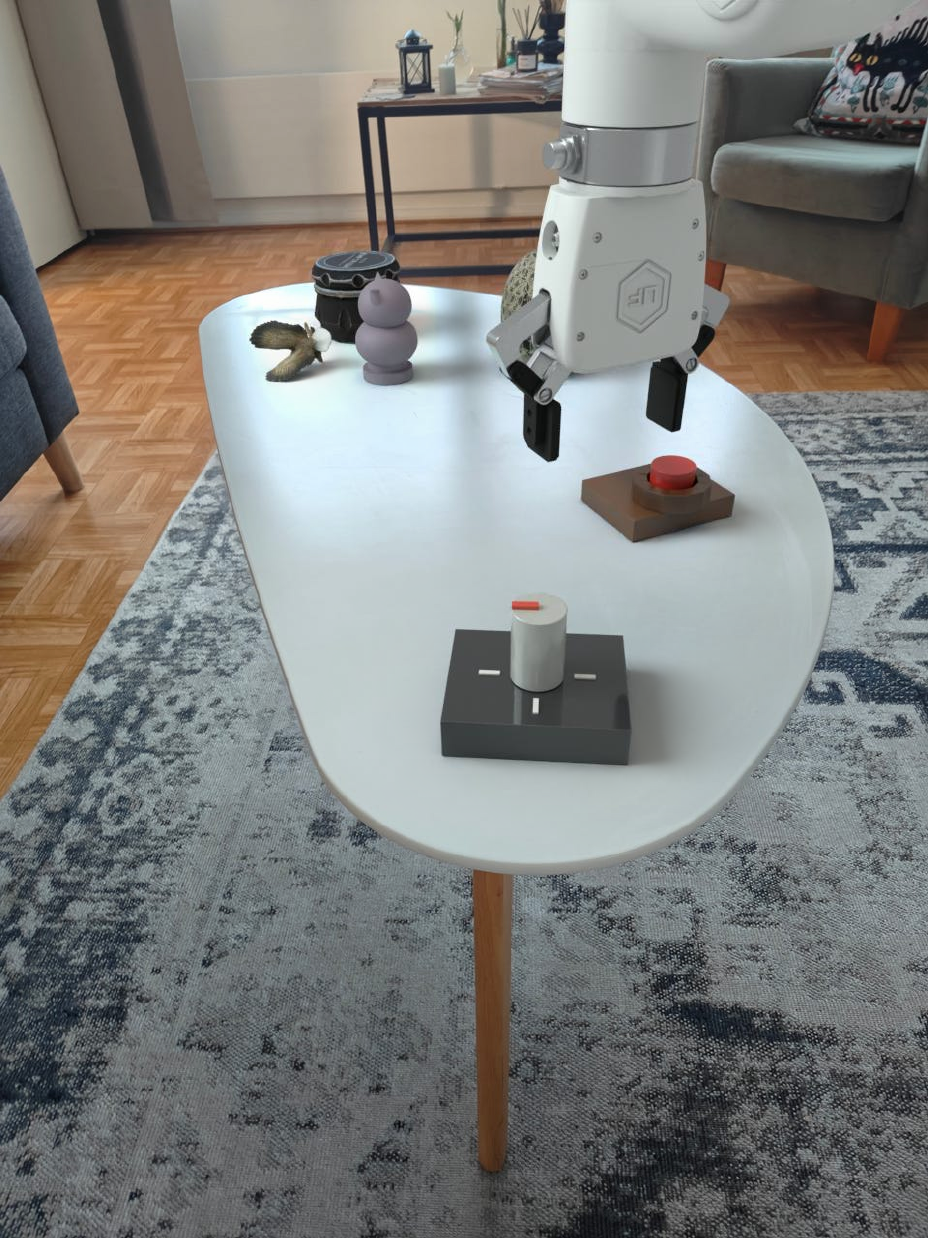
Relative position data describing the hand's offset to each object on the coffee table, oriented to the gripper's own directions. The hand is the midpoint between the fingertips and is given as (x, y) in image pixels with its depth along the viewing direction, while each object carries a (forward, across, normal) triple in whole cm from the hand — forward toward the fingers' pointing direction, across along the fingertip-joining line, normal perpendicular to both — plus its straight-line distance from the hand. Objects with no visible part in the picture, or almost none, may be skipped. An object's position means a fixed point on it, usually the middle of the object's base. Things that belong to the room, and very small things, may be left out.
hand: (603, 438), depth 61 cm
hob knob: (+13, -9, -6) cm, 17 cm away
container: (+16, +11, +77) cm, 79 cm away
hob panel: (+16, -8, -6) cm, 19 cm away
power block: (+16, +16, +13) cm, 26 cm away
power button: (+12, +16, +11) cm, 23 cm away
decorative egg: (+16, +26, +51) cm, 59 cm away
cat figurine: (+16, +7, +58) cm, 61 cm away
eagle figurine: (+16, -2, +66) cm, 68 cm away
